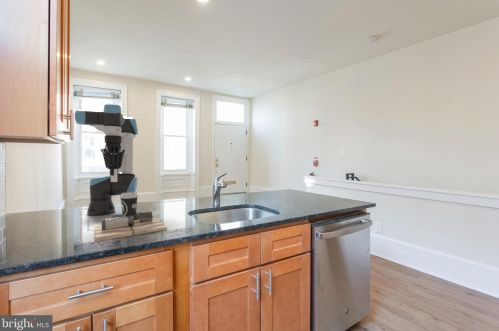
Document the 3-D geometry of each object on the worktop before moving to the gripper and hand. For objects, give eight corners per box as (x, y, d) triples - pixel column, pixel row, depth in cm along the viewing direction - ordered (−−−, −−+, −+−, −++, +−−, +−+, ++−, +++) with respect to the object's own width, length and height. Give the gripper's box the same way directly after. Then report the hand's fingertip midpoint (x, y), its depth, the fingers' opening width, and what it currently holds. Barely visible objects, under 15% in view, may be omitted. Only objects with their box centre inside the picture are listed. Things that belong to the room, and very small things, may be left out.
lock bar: (133, 223, 125) (133, 215, 125) (134, 225, 122) (134, 216, 122) (101, 228, 118) (101, 218, 118) (101, 230, 115) (101, 220, 115)
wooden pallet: (94, 228, 122) (94, 215, 122) (157, 220, 139) (157, 208, 138) (95, 241, 105) (94, 226, 104) (166, 229, 121) (166, 216, 121)
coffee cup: (131, 222, 134) (130, 195, 134) (116, 221, 136) (115, 194, 136) (142, 217, 144) (141, 192, 143) (127, 216, 146) (127, 191, 145)
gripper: (108, 134, 116) (109, 183, 117) (129, 136, 129) (129, 180, 130) (95, 134, 119) (97, 182, 119) (117, 136, 131) (118, 180, 132)
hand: (114, 181), depth 125 cm, fingers closed
